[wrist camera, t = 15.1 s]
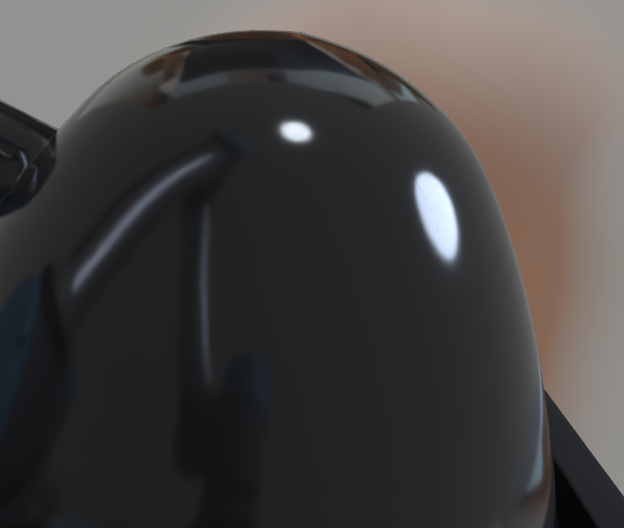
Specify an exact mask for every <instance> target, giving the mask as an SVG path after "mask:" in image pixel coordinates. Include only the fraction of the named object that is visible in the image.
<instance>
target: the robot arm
mask: <svg viewBox="0 0 624 528" xmlns="http://www.w3.org/2000/svg"><path fill="white" fill-rule="evenodd" d="M544 393H545V400H546V407H547V414H548V422H549V429H550V437H551V446H552V455H553V465H554V475H555V487H556V499H557V512H558V525H559V528H624V496H623V495H622V494H621V492H620V491H619V490H618V488H617V487H616V485H615V484H614V483H613V481H612V480H611V479H610V477H609V476H608V475H607V473H606V472H605V471H604V469H603V468H602V467H601V465H600V464H599V463H598V461H597V460H596V459H595V457H594V456H593V454H592V453H591V452H590V450H589V449H588V448H587V446H586V445H585V444H584V442H583V441H582V440H581V438H580V437H579V435H578V434H577V433H576V431H575V430H574V429H573V427H572V426H571V425H570V423H569V422H568V421H567V419H566V418H565V417H564V415H563V414H562V413H561V411H560V410H559V409H558V407H557V406H556V404H555V403H554V402H553V401H552V399H551V398H550V397H549V395H548V394H547V392H546V391H545V390H544Z"/></svg>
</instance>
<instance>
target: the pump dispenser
mask: <svg viewBox="0 0 624 528" xmlns="http://www.w3.org/2000/svg"><path fill="white" fill-rule="evenodd" d="M0 528H559V525H558V512H557V499H556V487H555V475H554V465H553V455H552V446H551V437H550V429H549V422H548V414H547V407H546V400H545V393H544V386H543V380H542V373H541V367H540V361H539V355H538V349H537V344H536V339H535V334H534V328H533V323H532V318H531V314H530V309H529V304H528V300H527V296H526V292H525V288H524V284H523V280H522V276H521V273H520V269H519V265H518V262H517V258H516V255H515V252H514V248H513V245H512V242H511V239H510V235H509V232H508V229H507V226H506V224H505V220H504V217H503V215H502V212H501V209H500V206H499V204H498V201H497V198H496V196H495V193H494V191H493V188H492V186H491V184H490V182H489V179H488V177H487V175H486V173H485V171H484V169H483V167H482V165H481V163H480V161H479V159H478V157H477V156H476V154H475V152H474V150H473V149H472V147H471V146H470V145H469V143H468V141H467V140H466V139H465V137H464V136H463V134H462V133H461V131H460V130H459V129H458V128H457V127H456V126H455V124H454V123H453V122H452V121H451V120H450V118H449V117H448V116H447V115H446V114H445V113H444V112H443V111H442V110H441V109H440V108H439V107H438V106H437V105H436V104H435V103H434V102H433V101H431V99H429V98H428V97H427V96H426V95H425V94H424V93H423V92H421V91H420V90H419V89H418V88H417V87H415V86H414V85H413V84H411V83H410V82H409V81H407V80H406V79H405V78H404V77H402V76H401V75H399V74H398V73H396V72H394V71H393V70H391V69H390V68H388V67H387V66H385V65H384V64H382V63H380V62H378V61H376V60H374V59H372V58H371V57H369V56H367V55H364V54H362V53H360V52H358V51H355V50H353V49H350V48H349V47H346V46H343V45H341V44H338V43H335V42H332V41H329V40H326V39H323V38H320V37H316V36H312V35H309V34H306V33H303V32H293V31H276V30H248V31H233V32H225V33H218V34H212V35H207V36H203V37H198V38H194V39H190V40H187V41H184V42H181V43H178V44H175V45H172V46H169V47H166V48H164V49H161V50H159V51H157V52H154V53H152V54H150V55H148V56H146V57H144V58H142V59H140V60H138V61H136V62H134V63H132V64H130V65H129V66H127V67H126V68H124V69H123V70H121V71H120V72H118V73H117V74H115V75H114V76H112V77H111V78H110V79H109V80H107V81H106V82H105V83H104V84H103V85H101V86H100V87H99V88H98V89H97V90H96V91H95V92H94V93H93V94H92V95H91V96H90V97H89V98H88V99H86V100H85V102H84V103H83V104H82V105H81V106H80V107H79V108H78V109H77V110H76V111H75V112H74V113H73V114H72V116H71V117H70V118H69V119H68V120H67V121H66V122H65V123H64V124H63V125H62V126H61V127H60V129H58V128H55V127H53V126H51V125H49V124H47V123H45V122H43V121H41V120H39V119H37V118H35V117H33V116H31V115H29V114H27V113H25V112H24V111H22V110H20V109H18V108H16V107H14V106H12V105H10V104H8V103H6V102H4V101H2V100H0Z"/></svg>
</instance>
